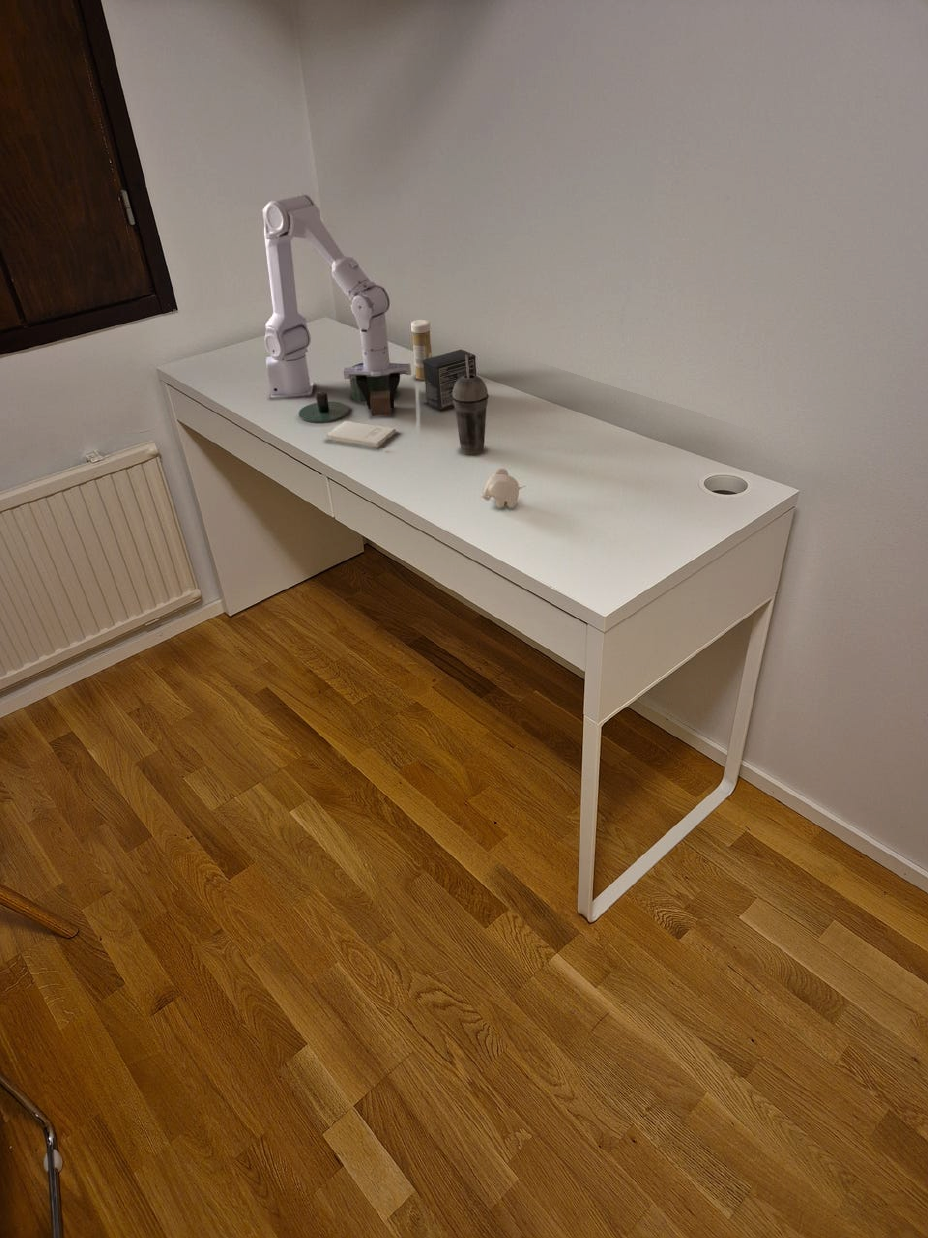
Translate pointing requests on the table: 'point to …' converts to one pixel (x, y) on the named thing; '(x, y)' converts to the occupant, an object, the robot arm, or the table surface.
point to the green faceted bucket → (374, 385)
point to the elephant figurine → (502, 489)
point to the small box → (445, 377)
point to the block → (380, 402)
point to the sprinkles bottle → (421, 345)
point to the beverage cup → (470, 411)
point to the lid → (323, 410)
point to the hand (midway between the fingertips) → (381, 407)
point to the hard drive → (360, 434)
